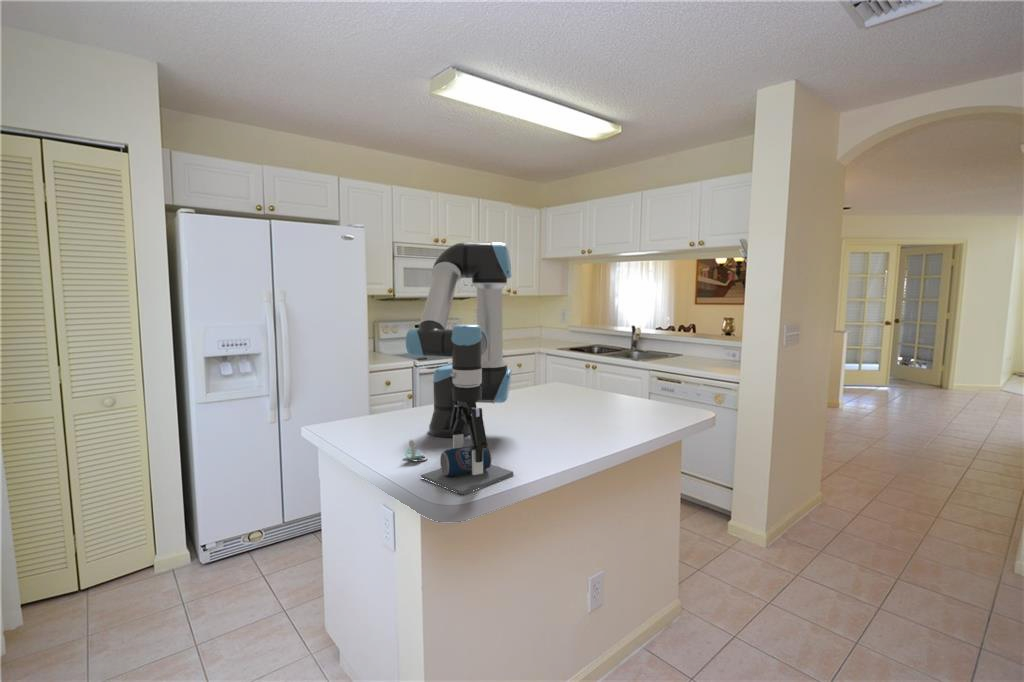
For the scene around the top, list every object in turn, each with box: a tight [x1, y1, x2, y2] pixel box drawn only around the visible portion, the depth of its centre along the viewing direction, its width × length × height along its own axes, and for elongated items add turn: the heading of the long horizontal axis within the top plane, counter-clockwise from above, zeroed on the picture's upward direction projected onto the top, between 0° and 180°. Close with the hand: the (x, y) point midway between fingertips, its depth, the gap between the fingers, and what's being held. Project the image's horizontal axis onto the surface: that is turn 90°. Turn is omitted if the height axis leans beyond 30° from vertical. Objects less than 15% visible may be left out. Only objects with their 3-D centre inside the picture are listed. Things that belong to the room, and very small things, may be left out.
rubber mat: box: [420, 463, 514, 496], centre depth 129 cm, size 16×18×1 cm
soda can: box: [439, 445, 492, 477], centre depth 128 cm, size 7×7×12 cm
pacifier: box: [404, 438, 428, 462], centre depth 142 cm, size 7×6×6 cm
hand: (467, 465), depth 129 cm, fingers open, 12 cm apart
